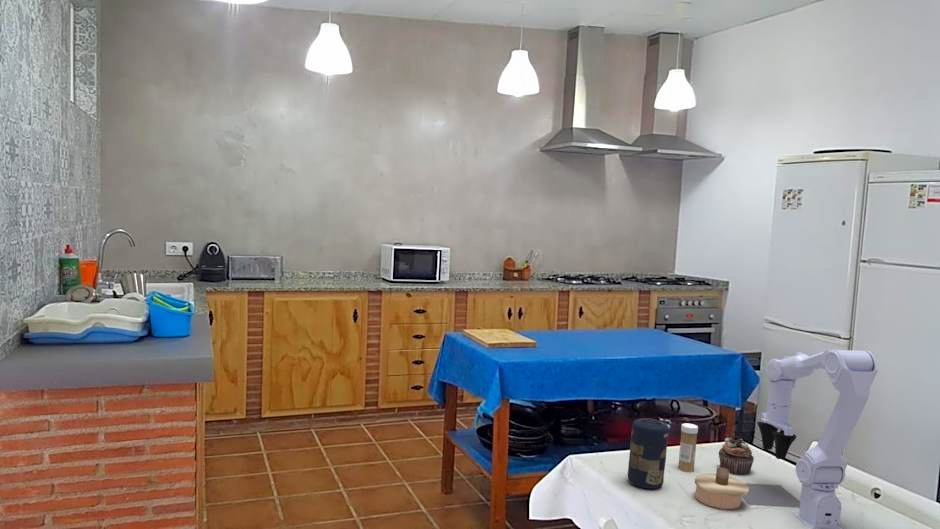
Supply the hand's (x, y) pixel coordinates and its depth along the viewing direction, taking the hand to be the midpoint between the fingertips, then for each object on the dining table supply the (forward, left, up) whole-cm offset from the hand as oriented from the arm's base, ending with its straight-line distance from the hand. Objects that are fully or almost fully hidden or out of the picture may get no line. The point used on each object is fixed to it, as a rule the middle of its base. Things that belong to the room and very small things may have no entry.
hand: (773, 453), depth 192 cm
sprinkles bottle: (+12, +19, -11) cm, 25 cm away
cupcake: (+14, +4, -11) cm, 18 cm away
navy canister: (0, +34, -11) cm, 36 cm away
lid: (-10, +18, -6) cm, 21 cm away
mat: (-4, +3, -10) cm, 12 cm away
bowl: (-10, +18, -11) cm, 23 cm away
